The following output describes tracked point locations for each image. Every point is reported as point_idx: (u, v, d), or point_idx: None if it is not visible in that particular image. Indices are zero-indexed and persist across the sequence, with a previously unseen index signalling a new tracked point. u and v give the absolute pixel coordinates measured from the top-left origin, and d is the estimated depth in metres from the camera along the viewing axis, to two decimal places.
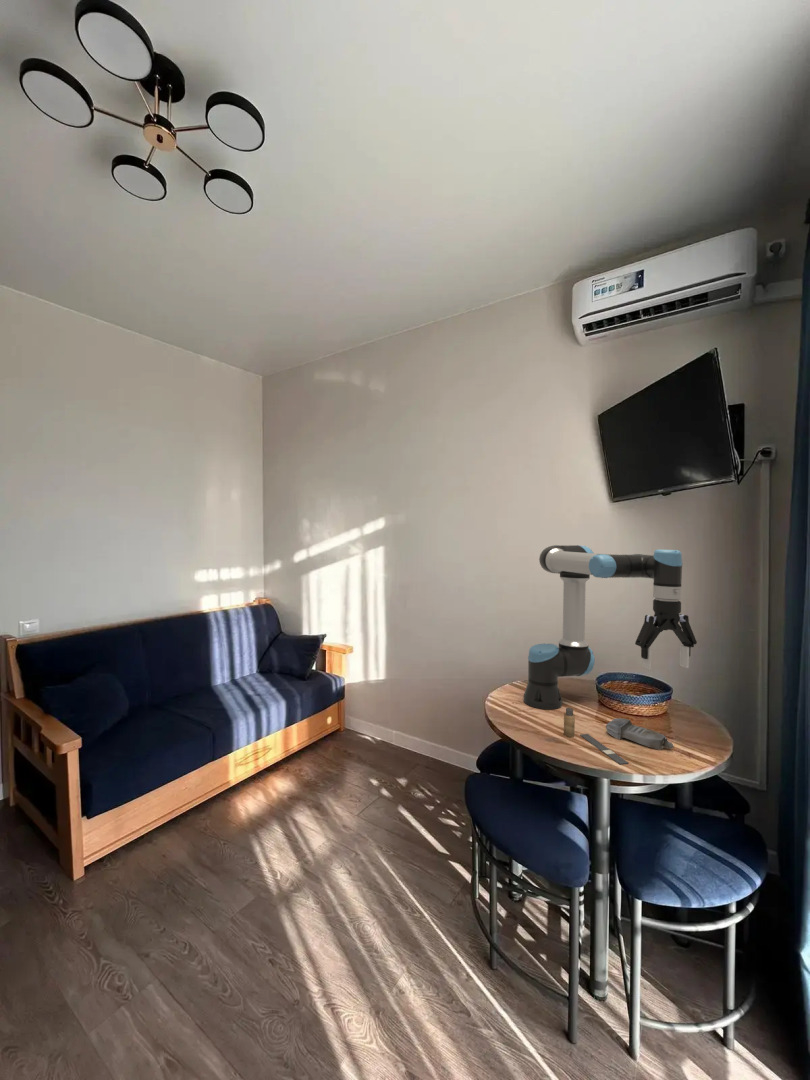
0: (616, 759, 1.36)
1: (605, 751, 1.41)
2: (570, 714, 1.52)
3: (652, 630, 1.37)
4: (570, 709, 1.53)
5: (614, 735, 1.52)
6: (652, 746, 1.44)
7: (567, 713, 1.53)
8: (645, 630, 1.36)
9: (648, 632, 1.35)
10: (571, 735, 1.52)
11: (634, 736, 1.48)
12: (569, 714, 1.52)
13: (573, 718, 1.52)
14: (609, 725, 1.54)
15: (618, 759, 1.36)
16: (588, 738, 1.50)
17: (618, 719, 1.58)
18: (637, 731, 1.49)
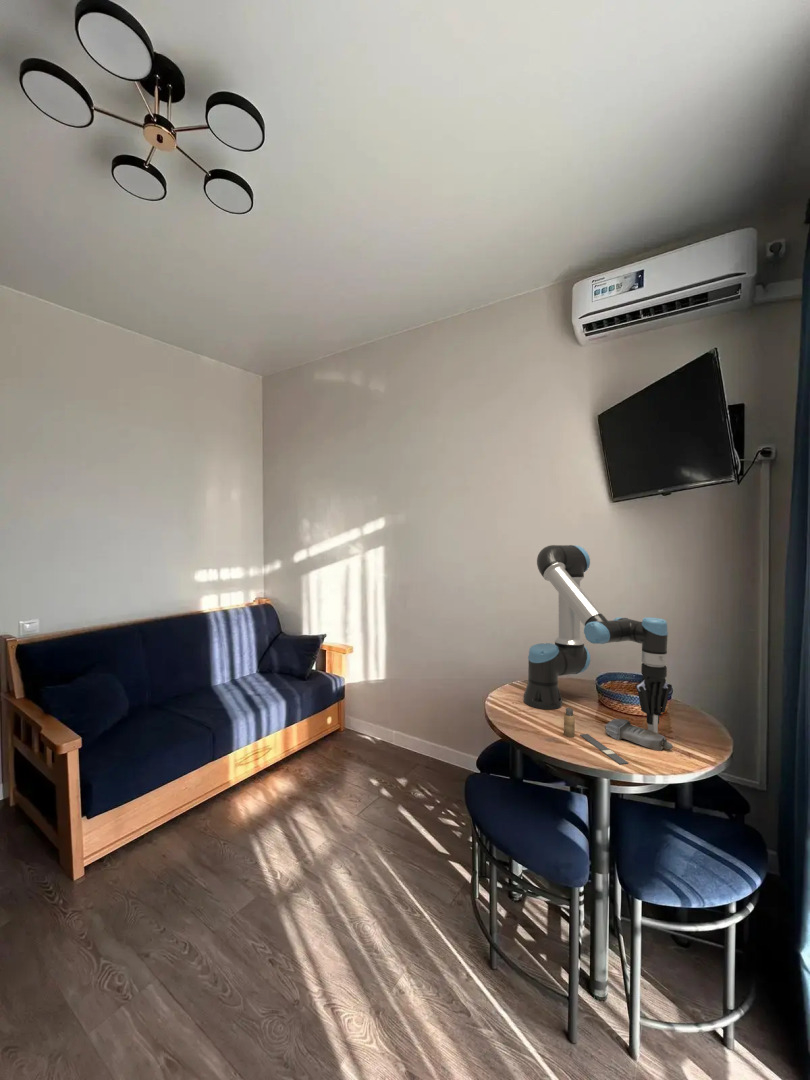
0: (616, 759, 1.36)
1: (605, 751, 1.41)
2: (570, 714, 1.52)
3: (647, 696, 1.52)
4: (570, 709, 1.53)
5: (613, 736, 1.51)
6: (651, 747, 1.44)
7: (567, 713, 1.53)
8: (642, 699, 1.50)
9: (646, 700, 1.49)
10: (571, 735, 1.52)
11: (633, 737, 1.47)
12: (569, 714, 1.52)
13: (573, 718, 1.52)
14: (608, 726, 1.53)
15: (618, 759, 1.36)
16: (588, 738, 1.50)
17: (617, 719, 1.57)
18: (636, 732, 1.49)
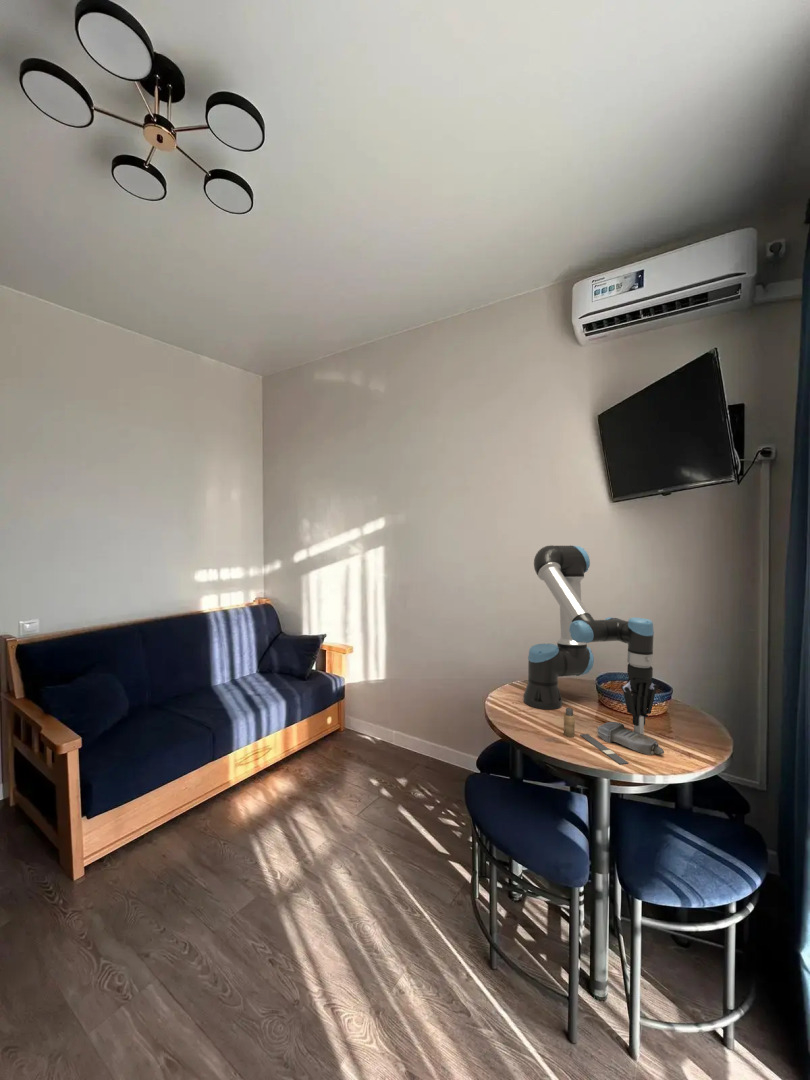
0: (616, 759, 1.36)
1: (605, 751, 1.41)
2: (570, 714, 1.52)
3: (633, 697, 1.50)
4: (570, 709, 1.53)
5: (604, 738, 1.49)
6: (641, 751, 1.41)
7: (567, 713, 1.53)
8: (628, 700, 1.49)
9: (631, 701, 1.48)
10: (571, 735, 1.52)
11: (623, 740, 1.45)
12: (569, 714, 1.52)
13: (573, 718, 1.52)
14: (600, 728, 1.51)
15: (618, 759, 1.36)
16: (588, 738, 1.50)
17: (611, 722, 1.55)
18: (628, 735, 1.46)
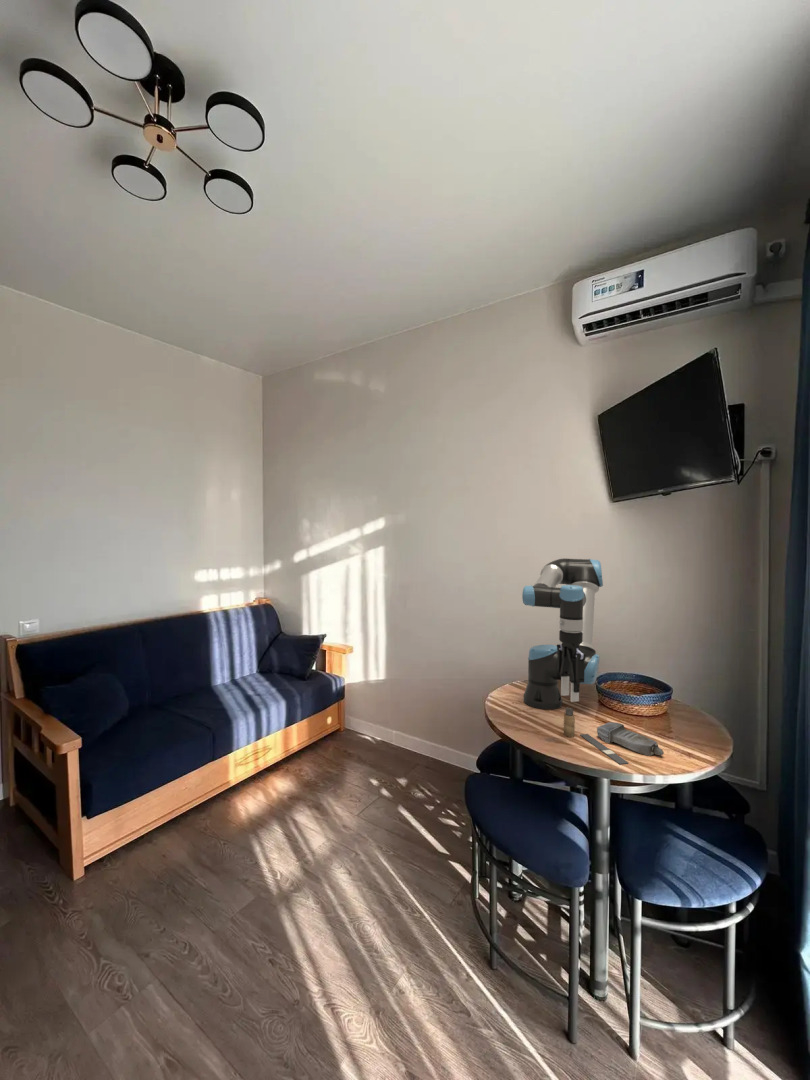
0: (616, 759, 1.36)
1: (605, 751, 1.41)
2: (570, 714, 1.52)
3: None
4: (570, 709, 1.53)
5: (604, 739, 1.49)
6: (641, 752, 1.40)
7: (567, 713, 1.53)
8: None
9: (558, 659, 1.58)
10: (571, 735, 1.52)
11: (623, 741, 1.44)
12: (569, 714, 1.52)
13: (573, 718, 1.52)
14: (599, 728, 1.51)
15: (618, 759, 1.36)
16: (588, 738, 1.50)
17: (611, 723, 1.54)
18: (627, 736, 1.46)
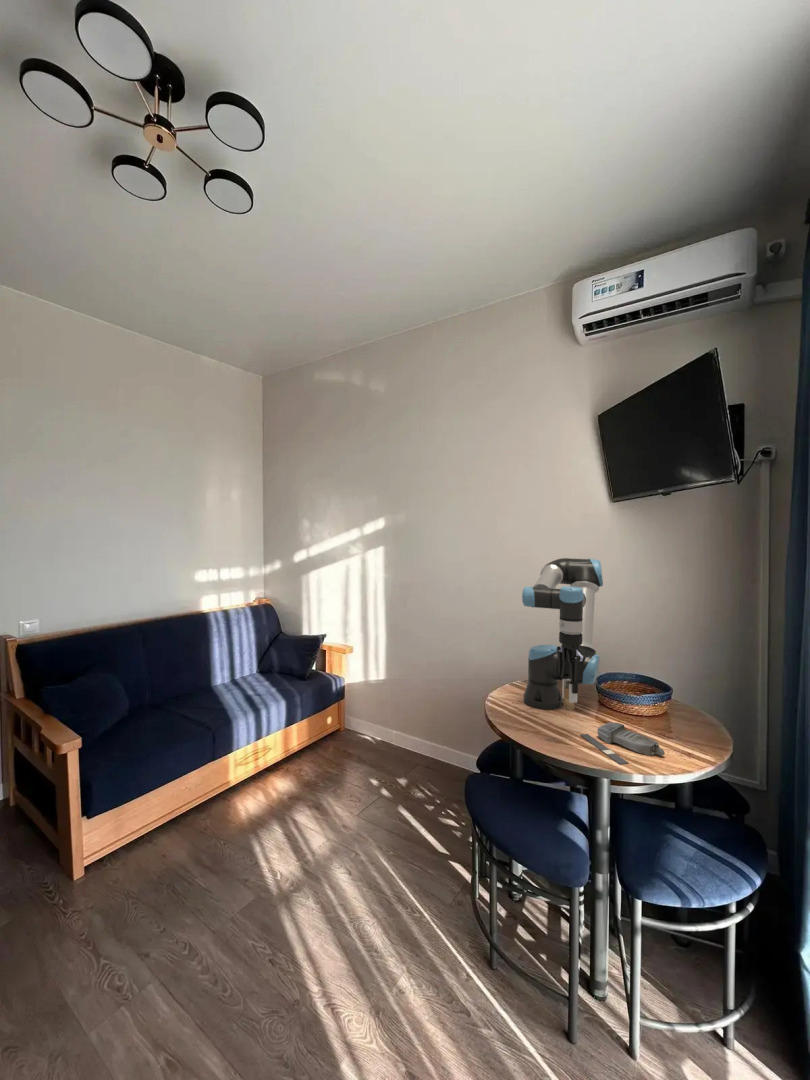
0: (616, 759, 1.36)
1: (605, 751, 1.41)
2: None
3: None
4: None
5: (605, 739, 1.49)
6: (642, 752, 1.40)
7: (567, 686, 1.53)
8: None
9: (559, 661, 1.58)
10: (571, 708, 1.52)
11: (624, 741, 1.44)
12: None
13: None
14: (600, 729, 1.51)
15: (618, 759, 1.36)
16: (588, 738, 1.50)
17: (611, 723, 1.54)
18: (628, 736, 1.46)
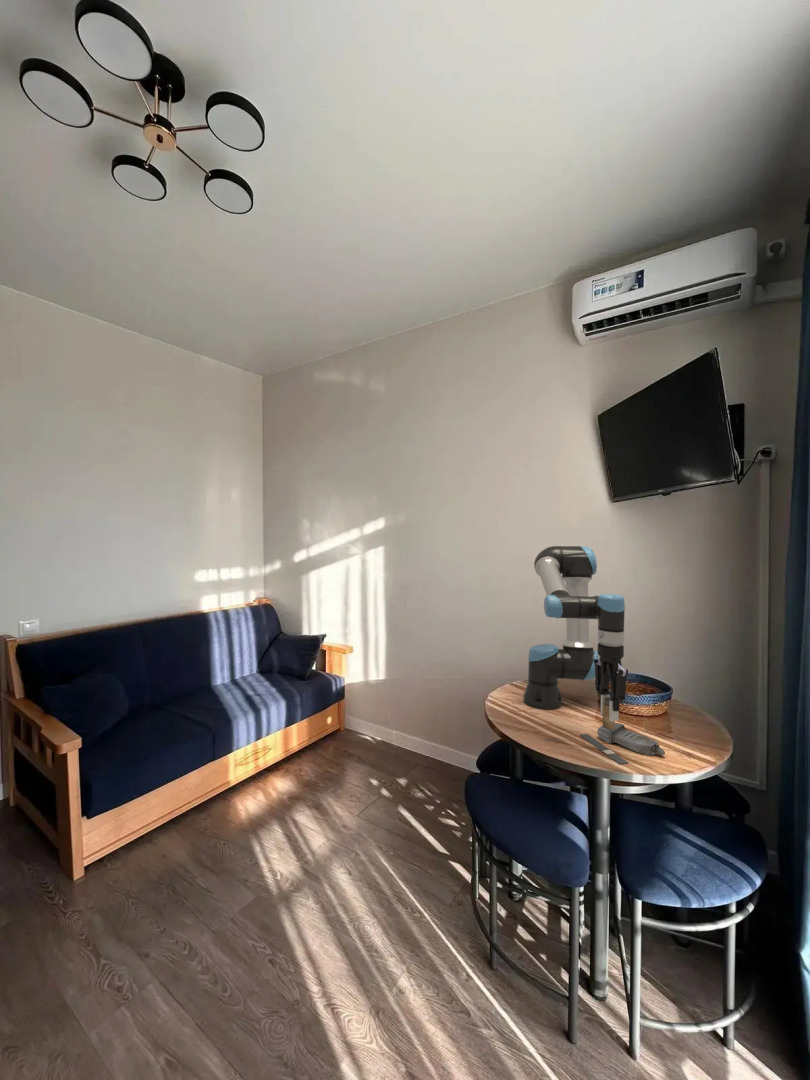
0: (616, 759, 1.36)
1: (605, 751, 1.41)
2: None
3: None
4: None
5: (605, 739, 1.49)
6: (642, 752, 1.40)
7: (607, 703, 1.40)
8: None
9: (596, 675, 1.45)
10: (611, 727, 1.39)
11: (624, 741, 1.44)
12: None
13: None
14: (600, 729, 1.51)
15: (618, 759, 1.36)
16: (588, 738, 1.50)
17: None
18: (628, 736, 1.46)
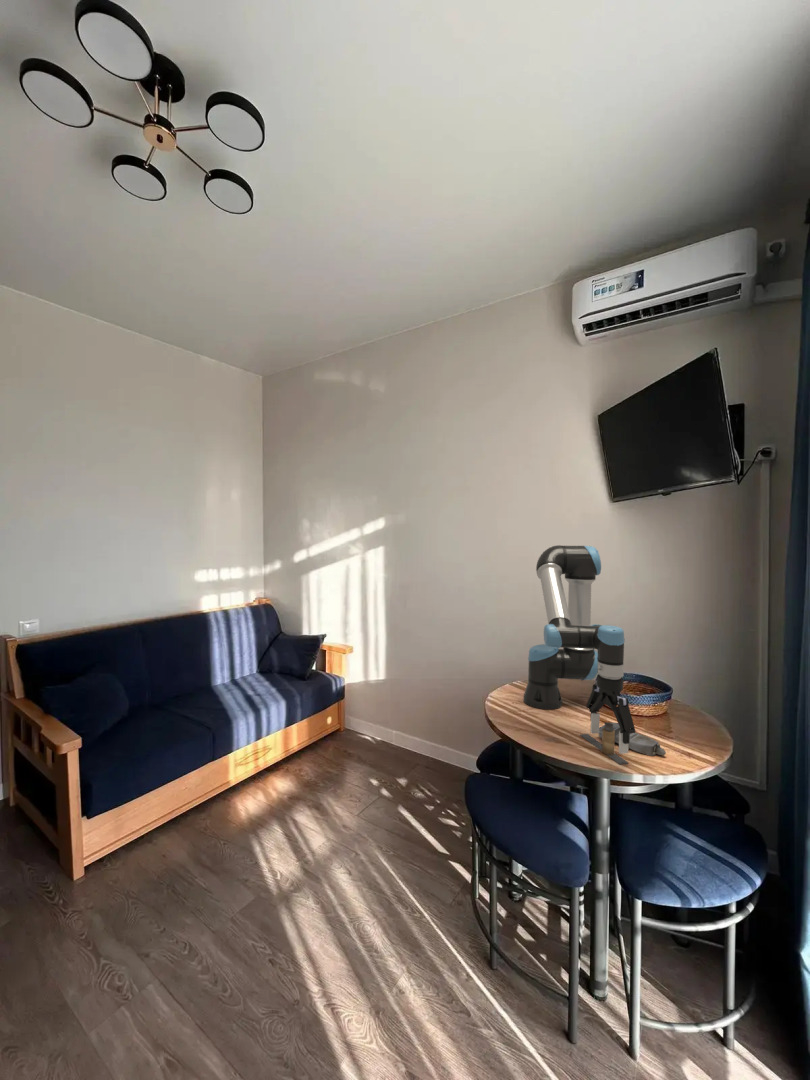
0: (616, 759, 1.36)
1: None
2: (610, 729, 1.40)
3: None
4: (610, 724, 1.40)
5: None
6: (643, 752, 1.40)
7: (606, 728, 1.40)
8: None
9: (591, 697, 1.48)
10: (611, 752, 1.39)
11: None
12: (609, 729, 1.40)
13: (613, 734, 1.39)
14: (601, 729, 1.50)
15: (618, 759, 1.36)
16: (588, 738, 1.50)
17: (612, 723, 1.54)
18: None
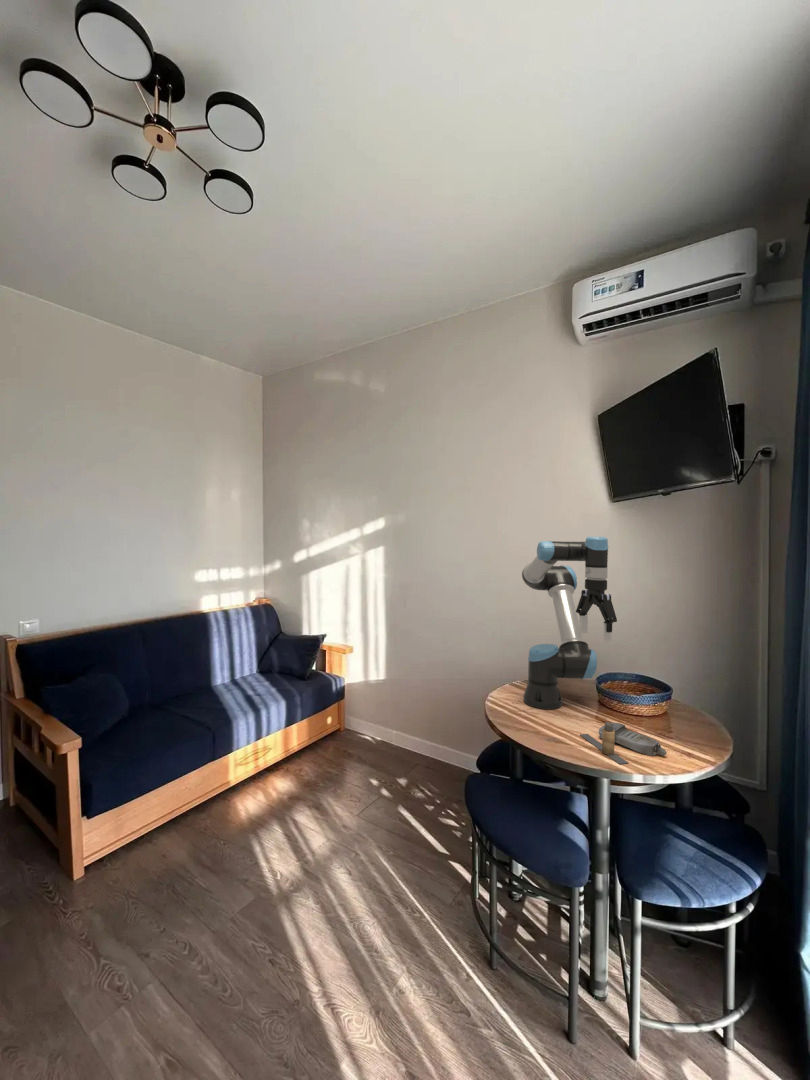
0: (616, 759, 1.36)
1: None
2: (610, 729, 1.40)
3: None
4: (610, 724, 1.40)
5: None
6: (644, 752, 1.40)
7: (606, 728, 1.40)
8: None
9: (580, 602, 1.70)
10: (611, 752, 1.39)
11: (625, 742, 1.44)
12: (609, 729, 1.40)
13: (613, 734, 1.39)
14: (601, 729, 1.50)
15: (618, 759, 1.36)
16: (588, 738, 1.50)
17: (612, 723, 1.54)
18: (630, 736, 1.46)
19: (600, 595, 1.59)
